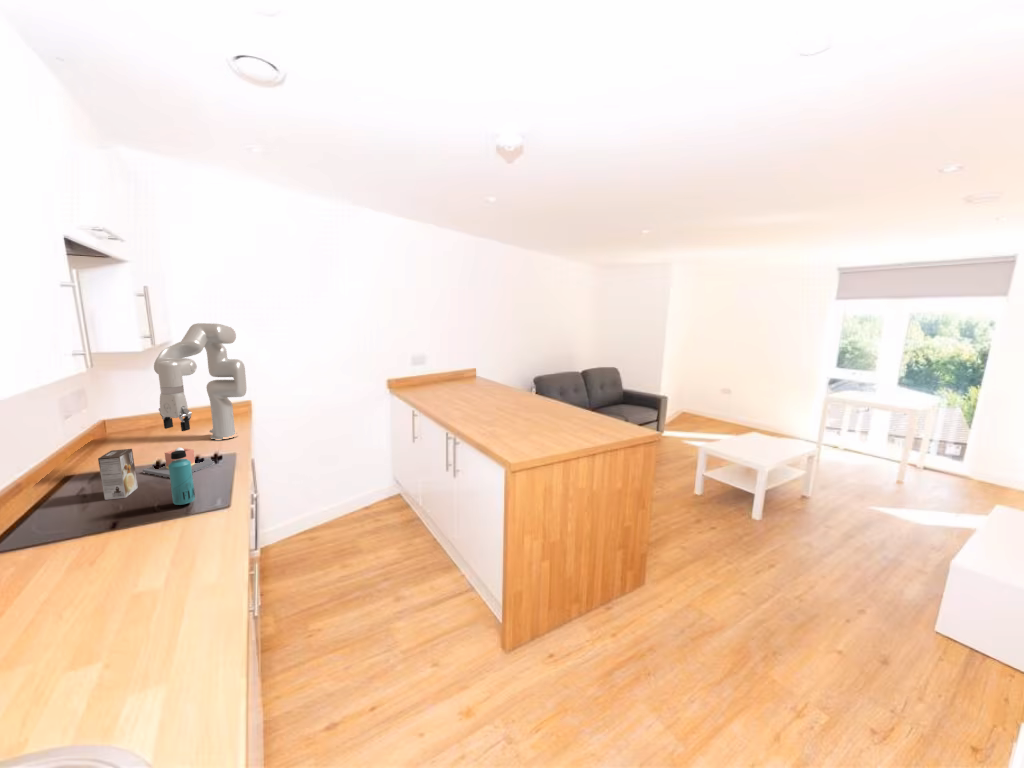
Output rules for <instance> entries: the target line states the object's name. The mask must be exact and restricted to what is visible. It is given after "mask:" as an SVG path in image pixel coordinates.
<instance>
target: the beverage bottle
mask: <svg viewBox="0 0 1024 768" xmlns="http://www.w3.org/2000/svg"><path fill="white" fill-rule="evenodd" d="M184 457H186V452H185V451H184V450H179V451H174V452H172V453H171V459H178V460H174V461H172V462H171V463H170V464H169V465H168V467H169V474H170V478H169V479H170V492H171V495H170V496H171V499H172V501H171V502H172V503H173V504H174V505H177V506H178V505H179V506H181V505H187V504H190V503H191V502H192V503H193V502H194V501H195V499H196V492H195V486H194V485H195V484H194V475H193V474H194V472H192V469H191V468H192V467H191V461H189V460H187V459H181V458H184Z"/></svg>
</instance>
